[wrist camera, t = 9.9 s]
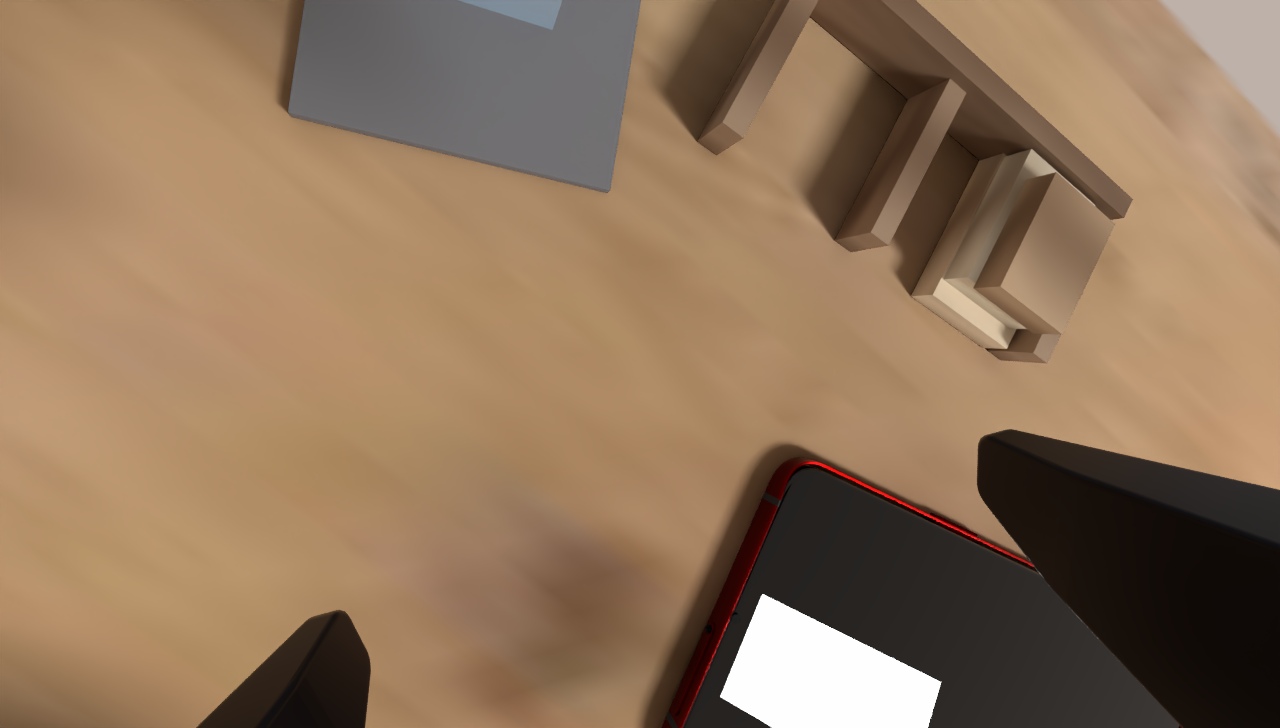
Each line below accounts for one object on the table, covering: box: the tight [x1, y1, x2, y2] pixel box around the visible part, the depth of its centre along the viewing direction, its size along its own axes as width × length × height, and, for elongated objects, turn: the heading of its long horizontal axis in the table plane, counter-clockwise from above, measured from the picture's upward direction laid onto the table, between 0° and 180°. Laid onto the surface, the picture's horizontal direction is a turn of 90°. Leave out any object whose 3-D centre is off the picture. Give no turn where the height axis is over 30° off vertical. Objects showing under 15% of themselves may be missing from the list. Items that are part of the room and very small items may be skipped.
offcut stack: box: [911, 149, 1115, 349], centre depth 22 cm, size 6×4×3 cm, turn 150°
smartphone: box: [662, 457, 1182, 728], centre depth 25 cm, size 12×2×25 cm
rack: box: [697, 0, 1133, 363], centre depth 21 cm, size 7×15×2 cm, turn 60°
